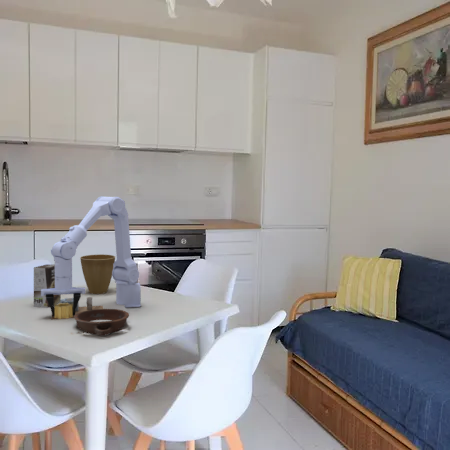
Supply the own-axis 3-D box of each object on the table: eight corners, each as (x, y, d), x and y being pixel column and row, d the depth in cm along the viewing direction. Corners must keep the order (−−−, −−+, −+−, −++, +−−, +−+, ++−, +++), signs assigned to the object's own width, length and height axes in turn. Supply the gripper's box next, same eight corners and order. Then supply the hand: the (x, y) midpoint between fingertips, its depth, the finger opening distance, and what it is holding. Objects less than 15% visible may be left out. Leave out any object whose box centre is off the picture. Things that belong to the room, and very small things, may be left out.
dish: (123, 318, 172) (123, 305, 172) (134, 336, 152) (134, 321, 152) (71, 322, 166) (71, 308, 166) (76, 341, 146) (76, 325, 145)
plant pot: (82, 289, 220) (82, 254, 218) (115, 288, 222) (115, 254, 221) (78, 296, 205) (78, 259, 204) (114, 295, 208) (114, 258, 207)
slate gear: (78, 308, 181) (78, 297, 180) (78, 312, 175) (78, 301, 174) (60, 309, 179) (60, 298, 178) (60, 313, 173) (60, 302, 173)
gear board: (102, 308, 185) (102, 294, 185) (105, 319, 170) (105, 303, 170) (52, 311, 180) (52, 296, 179) (51, 322, 164) (51, 306, 164)
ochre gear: (72, 313, 173) (72, 302, 172) (73, 318, 167) (73, 306, 166) (54, 314, 171) (54, 303, 170) (54, 319, 165) (53, 307, 165)
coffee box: (48, 310, 181) (48, 268, 179) (33, 309, 182) (32, 267, 181) (61, 305, 190) (61, 264, 188) (46, 304, 191) (46, 263, 190)
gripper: (40, 279, 162) (40, 319, 163) (85, 277, 166) (85, 316, 167) (41, 275, 168) (41, 313, 169) (84, 274, 173) (85, 311, 174)
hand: (63, 314), depth 169 cm, fingers closed on ochre gear, 6 cm apart
